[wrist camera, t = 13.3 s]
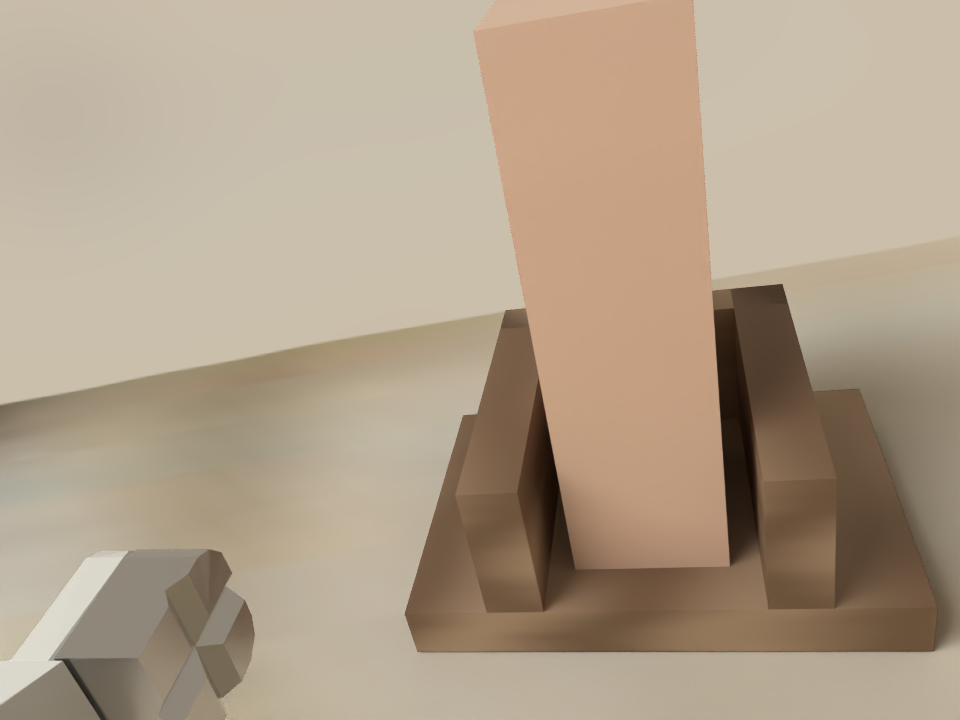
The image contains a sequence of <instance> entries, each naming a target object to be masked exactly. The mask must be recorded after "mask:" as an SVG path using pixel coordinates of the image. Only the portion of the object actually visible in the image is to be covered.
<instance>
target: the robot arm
mask: <svg viewBox="0 0 960 720" xmlns="http://www.w3.org/2000/svg"><path fill="white" fill-rule="evenodd" d="M231 574H232V572H231V570H230V568H229V566H228V564H227V562H226V560H225V559H224V557H223V555H222V553H221V552H217V551H213V550H209V549H194V550H135V551H99V552H97V553H95V554H93V555H91V556H89V557H87V558H86V559H85V561H84V562H83V563H82V565H81V566H80V567H79V569H78V570H77V571H76V573H75V574H74V575H73V577H72V578H71V579H70V581H69V582H68V583H67V585H66V586H65V587H64V589H63V590H62V591H61V593H60V594H59V596H58V597H57V598H56V600H55V601H54V602H53V604H52V605H51V606H50V608H49V609H48V610H47V612H46V613H45V614H44V616H43V617H42V618H41V620H40V621H39V622H38V624H37V625H36V626H35V628H34V629H33V630H32V632H31V633H30V635H29V636H28V637H27V639H26V640H25V641H24V643H23V644H22V645H21V647H20V648H19V649H18V651H17V652H16V653H15V655H14V656H13V657H12V659H11V660H4V661H0V720H224V719H225V717H226V712H225V708H224V704H223V700H222V698H223V697H224V696H225V695H226V694H227V693H228V692H230V691H231V690H232V689H233V688H234V687H236V686H237V685H238V684H239V683H240V682H242V680H243V677H244V675H245V673H246V670H247V668H248V666H249V663H250V661H251V657H252V649H253V642H254V628H253V622H252V615H251V613H250V611H249V609H248V606H247V604H246V602H245V600H244V599H242V598H241V597H240V596H238V595H237V594H236V593H234V592H233V591H232V590H230V589H229V588H228V587H227V584H228V582H229V579H230V577H231Z"/></svg>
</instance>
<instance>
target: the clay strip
mask: <svg viewBox="0 0 960 720" xmlns="http://www.w3.org/2000/svg"><path fill="white" fill-rule="evenodd" d="M473 32H474V38H475V42H476V48H477V53H478V59H479V64H480V69H481V75H482V79H483V85H484V90H485V96H486V100H487V106H488V111H489V117H490V122H491V127H492V133H493V138H494V143H495V148H496V154H497V158H498V164H499V170H500V175H501V180H502V185H503V191H504V196H505V201H506V207H507V211H508V217H509V222H510V228H511V233H512V238H513V243H514V249H515V253H516V259H517V265H518V270H519V275H520V280H521V286H522V290H523V296H524V301H525V307H526V312H527V317H528V323H529V328H530V333H531V338H532V344H533V349H534V354H535V360H536V365H537V370H538V375H539V381H540V386H541V391H542V396H543V402H544V407H545V412H546V418H547V423H548V428H549V433H550V439H551V444H552V449H553V454H554V460H555V465H556V470H557V476H558V481H559V486H560V491H561V497H562V502H563V507H564V513H565V518H566V523H567V528H568V534H569V539H570V544H571V549H572V555H573V560H574V565H575V570H588V569H634V568H681V567H727V566H730V559H729V544H728V528H727V513H726V498H725V482H724V467H723V452H722V436H721V421H720V405H719V390H718V375H717V359H716V344H715V328H714V313H713V298H712V282H711V269H710V268H711V267H710V252H709V237H708V221H707V205H706V190H705V175H704V159H703V144H702V129H701V113H700V98H699V83H698V67H697V52H696V36H695V21H694V6H693V0H496V1H495V3H494V4H493V5H492V6H491V8H490V9H489V10H488V12H487V13H486V14H485V16H484V17H483V19H482V20H481V21H480V23H479V24H478V25H477V27H476V28H475V29H474V31H473Z"/></svg>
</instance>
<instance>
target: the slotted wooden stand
mask: <svg viewBox="0 0 960 720" xmlns="http://www.w3.org/2000/svg"><path fill="white" fill-rule="evenodd" d="M712 298H713V313H714V328H715V344H716V359H717V375H718V390H719V405H720V421H721V436H722V452H723V467H724V482H725V498H726V513H727V528H728V544H729V559H730V566H727V567H681V568H634V569H588V570H575V565H574V560H573V555H572V549H571V544H570V539H569V534H568V528H567V523H566V518H565V513H564V507H563V502H562V497H561V491H560V486H559V481H558V476H557V470H556V465H555V460H554V454H553V449H552V444H551V439H550V433H549V428H548V423H547V418H546V412H545V407H544V402H543V396H542V391H541V386H540V381H539V375H538V370H537V365H536V360H535V354H534V349H533V344H532V338H531V333H530V328H529V323H528V317H527V312H526V309H515V310H506V311H505V314H504V318H503V322H502V325H501V329H500V333H499V336H498V340H497V344H496V347H495V351H494V355H493V358H492V362H491V366H490V370H489V373H488V377H487V381H486V384H485V388H484V392H483V395H482V399H481V403H480V406H479V410H478V414H475V415H463V418H462V421H461V425H460V428H459V432H458V435H457V438H456V442H455V445H454V449H453V452H452V455H451V459H450V462H449V465H448V469H447V472H446V476H445V479H444V482H443V486H442V489H441V493H440V496H439V499H438V503H437V506H436V510H435V513H434V516H433V520H432V523H431V527H430V530H429V533H428V537H427V540H426V544H425V547H424V550H423V554H422V557H421V560H420V564H419V567H418V571H417V574H416V577H415V581H414V584H413V588H412V591H411V594H410V598H409V601H408V605H407V608H406V611H405V616H406V619H407V622H408V625H409V628H410V631H411V634H412V637H413V640H414V643H415V646H416V648H417V651H418V652H596V651H933V650H934V640H935V631H936V621H937V612H938V606H937V603H936V601H935V598H934V595H933V592H932V590H931V587H930V584H929V581H928V579H927V576H926V573H925V570H924V567H923V565H922V562H921V559H920V556H919V554H918V551H917V548H916V545H915V542H914V540H913V537H912V534H911V531H910V529H909V526H908V523H907V520H906V518H905V515H904V512H903V509H902V506H901V504H900V501H899V498H898V495H897V493H896V490H895V487H894V484H893V482H892V479H891V476H890V473H889V470H888V468H887V465H886V462H885V459H884V457H883V454H882V451H881V448H880V446H879V443H878V440H877V437H876V434H875V432H874V429H873V426H872V423H871V421H870V418H869V415H868V412H867V410H866V407H865V404H864V401H863V398H862V396H861V393H860V390H859V389H847V390H833V391H818V392H813V391H812V388H811V384H810V381H809V377H808V374H807V370H806V367H805V363H804V359H803V356H802V352H801V349H800V345H799V342H798V338H797V335H796V331H795V327H794V324H793V320H792V317H791V313H790V310H789V306H788V302H787V299H786V295H785V292H784V288H783V285H782V284H778V285H767V286H757V287H746V288H736V289H725V290H715V291H712Z"/></svg>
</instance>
